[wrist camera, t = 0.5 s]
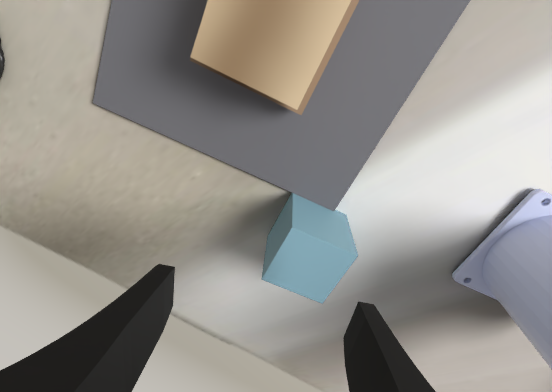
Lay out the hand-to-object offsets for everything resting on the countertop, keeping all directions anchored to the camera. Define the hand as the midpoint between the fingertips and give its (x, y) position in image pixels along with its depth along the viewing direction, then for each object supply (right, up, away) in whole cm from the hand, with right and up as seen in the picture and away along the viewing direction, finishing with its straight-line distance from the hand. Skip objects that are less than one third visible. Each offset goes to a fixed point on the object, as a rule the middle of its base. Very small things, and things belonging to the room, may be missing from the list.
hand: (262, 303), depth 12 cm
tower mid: (0, +12, +2) cm, 12 cm away
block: (+3, +2, +9) cm, 10 cm away
